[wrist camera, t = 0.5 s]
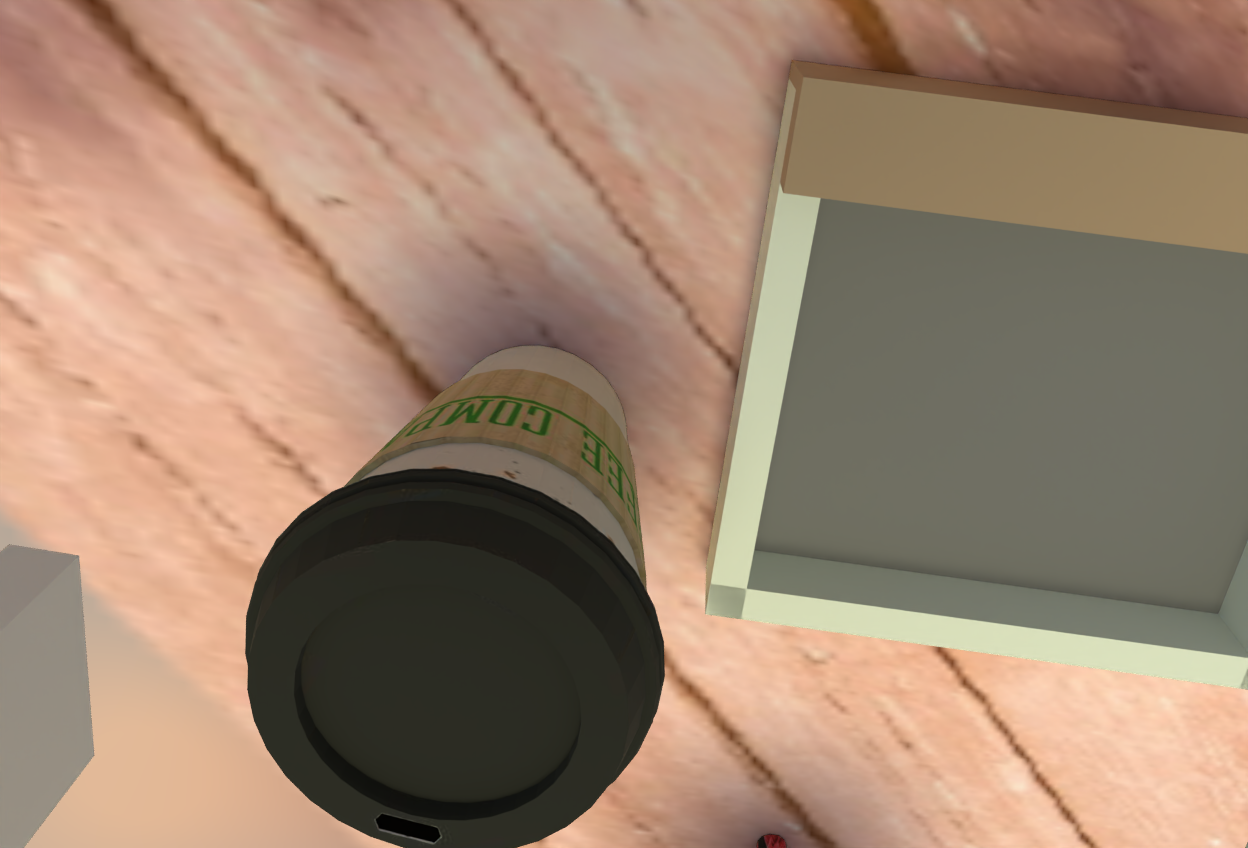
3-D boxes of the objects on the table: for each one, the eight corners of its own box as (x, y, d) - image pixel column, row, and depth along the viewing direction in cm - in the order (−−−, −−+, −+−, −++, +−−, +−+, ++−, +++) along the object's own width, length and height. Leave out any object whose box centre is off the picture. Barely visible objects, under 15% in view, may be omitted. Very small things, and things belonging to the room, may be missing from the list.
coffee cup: (716, 337, 36) (718, 581, 22) (637, 583, 40) (598, 919, 26) (424, 257, 35) (242, 455, 22) (374, 513, 39) (195, 816, 26)
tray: (791, 59, 32) (803, 76, 28) (1442, 143, 32) (1550, 172, 28) (706, 567, 39) (705, 640, 35) (1235, 640, 39) (1298, 722, 35)
